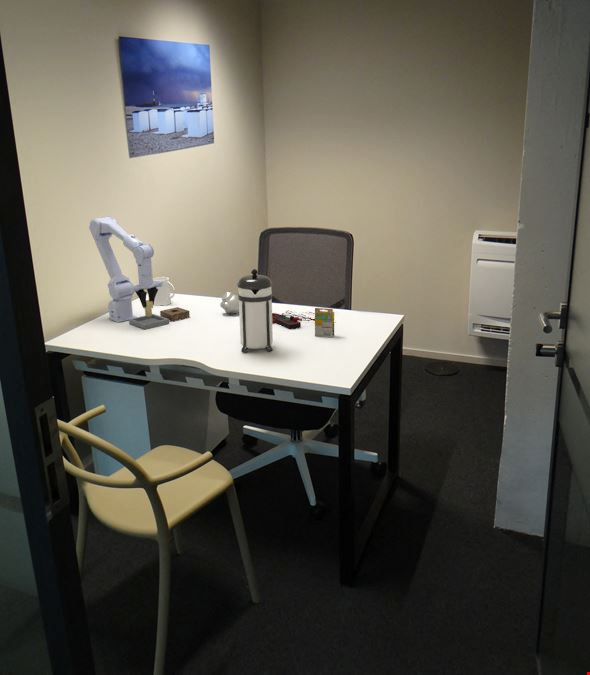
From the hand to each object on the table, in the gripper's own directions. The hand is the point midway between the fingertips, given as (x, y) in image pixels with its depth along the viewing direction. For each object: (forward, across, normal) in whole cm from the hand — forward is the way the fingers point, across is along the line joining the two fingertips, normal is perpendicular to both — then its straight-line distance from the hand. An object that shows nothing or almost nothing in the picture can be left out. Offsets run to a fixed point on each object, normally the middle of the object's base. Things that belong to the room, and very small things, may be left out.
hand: (147, 306), depth 283 cm
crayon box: (+8, +39, -65) cm, 76 cm away
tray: (+8, 0, 0) cm, 8 cm away
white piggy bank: (+8, +34, -13) cm, 37 cm away
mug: (+8, +23, +23) cm, 33 cm away
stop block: (+8, +13, 0) cm, 15 cm away
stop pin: (+4, 0, 0) cm, 4 cm away
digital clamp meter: (+9, +47, -42) cm, 64 cm away
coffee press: (+8, +11, -56) cm, 58 cm away
